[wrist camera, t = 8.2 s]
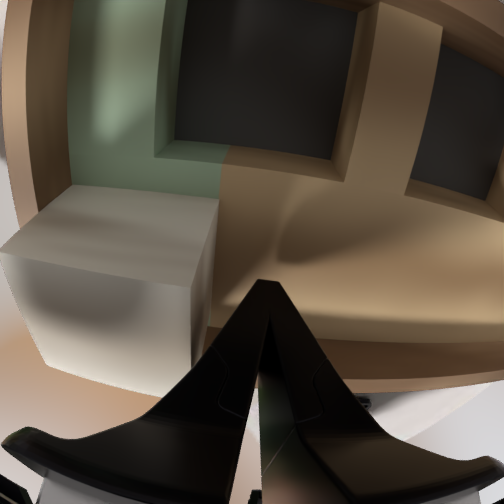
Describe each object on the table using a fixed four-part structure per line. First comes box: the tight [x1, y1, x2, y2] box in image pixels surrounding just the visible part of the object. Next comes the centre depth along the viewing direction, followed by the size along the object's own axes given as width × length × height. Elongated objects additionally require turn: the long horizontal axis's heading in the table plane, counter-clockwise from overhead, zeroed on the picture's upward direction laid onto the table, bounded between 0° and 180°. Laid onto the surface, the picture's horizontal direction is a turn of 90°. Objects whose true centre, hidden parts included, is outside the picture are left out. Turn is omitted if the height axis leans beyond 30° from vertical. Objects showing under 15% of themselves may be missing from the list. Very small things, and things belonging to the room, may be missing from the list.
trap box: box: [1, 0, 504, 393], centre depth 9 cm, size 14×25×4 cm, turn 83°
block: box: [0, 185, 220, 398], centre depth 9 cm, size 4×5×4 cm
